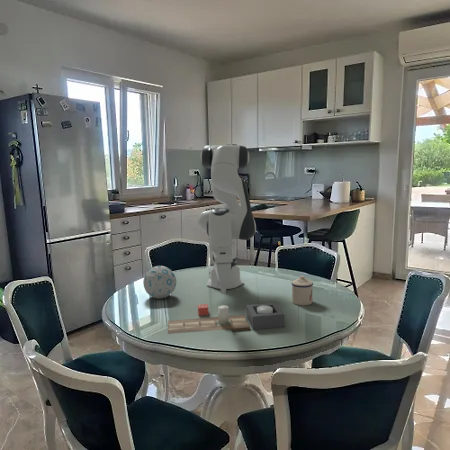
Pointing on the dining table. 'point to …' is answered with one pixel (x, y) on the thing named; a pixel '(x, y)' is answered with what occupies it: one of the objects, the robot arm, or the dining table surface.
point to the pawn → (223, 314)
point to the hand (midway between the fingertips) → (221, 288)
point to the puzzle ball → (159, 282)
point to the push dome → (264, 309)
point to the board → (207, 324)
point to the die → (203, 309)
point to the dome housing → (265, 317)
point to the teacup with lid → (302, 291)
